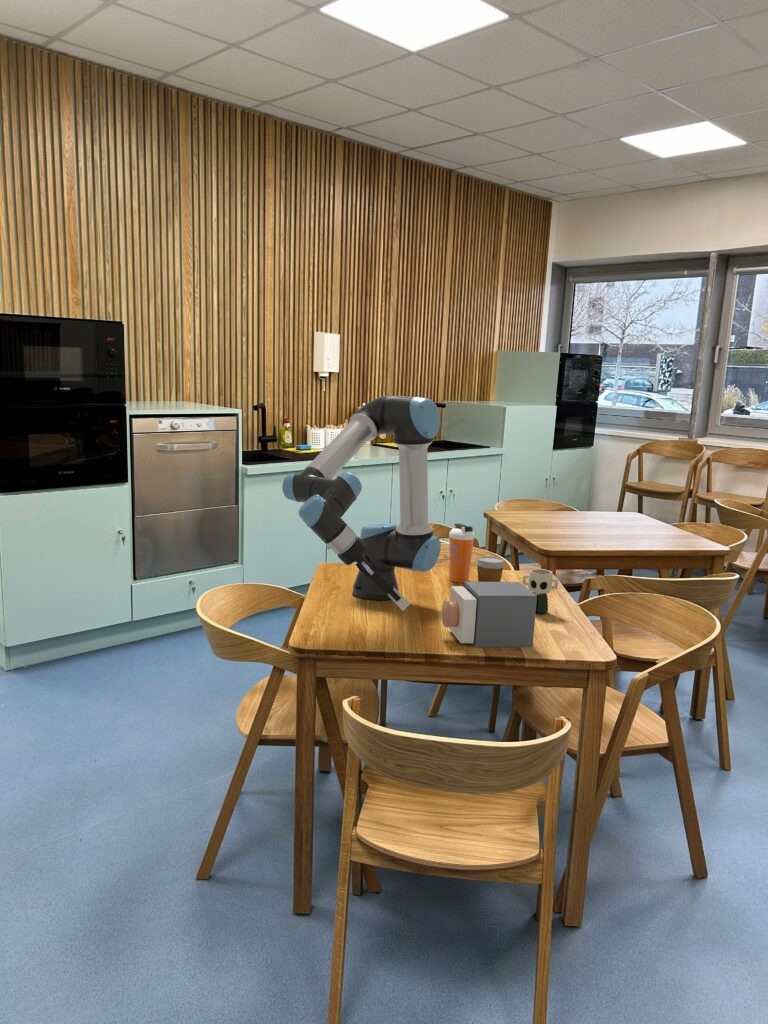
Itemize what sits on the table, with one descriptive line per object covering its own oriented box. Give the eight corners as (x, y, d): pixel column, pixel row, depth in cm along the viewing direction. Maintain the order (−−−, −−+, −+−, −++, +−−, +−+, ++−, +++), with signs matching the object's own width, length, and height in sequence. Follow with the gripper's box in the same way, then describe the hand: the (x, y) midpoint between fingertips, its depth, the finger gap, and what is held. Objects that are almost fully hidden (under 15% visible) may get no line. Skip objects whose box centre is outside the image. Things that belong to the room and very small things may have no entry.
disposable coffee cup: (501, 591, 257) (504, 557, 255) (503, 599, 248) (506, 563, 246) (473, 589, 258) (476, 555, 256) (474, 597, 248) (476, 561, 246)
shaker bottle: (457, 575, 275) (460, 522, 272) (476, 581, 269) (480, 526, 266) (441, 579, 269) (444, 524, 266) (460, 584, 263) (464, 528, 259)
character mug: (518, 612, 234) (521, 571, 232) (522, 606, 241) (525, 566, 238) (553, 617, 230) (557, 576, 228) (556, 611, 237) (560, 571, 235)
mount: (475, 647, 200) (479, 595, 198) (461, 630, 214) (464, 581, 211) (532, 646, 203) (537, 595, 200) (514, 629, 216) (518, 581, 214)
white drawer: (449, 643, 199) (452, 599, 197) (438, 627, 212) (440, 586, 210) (525, 642, 203) (529, 599, 201) (509, 627, 215) (512, 586, 213)
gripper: (333, 549, 203) (391, 609, 208) (339, 561, 190) (400, 624, 196) (354, 530, 203) (411, 590, 208) (361, 540, 190) (421, 604, 196)
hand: (405, 606), depth 202 cm, fingers closed
